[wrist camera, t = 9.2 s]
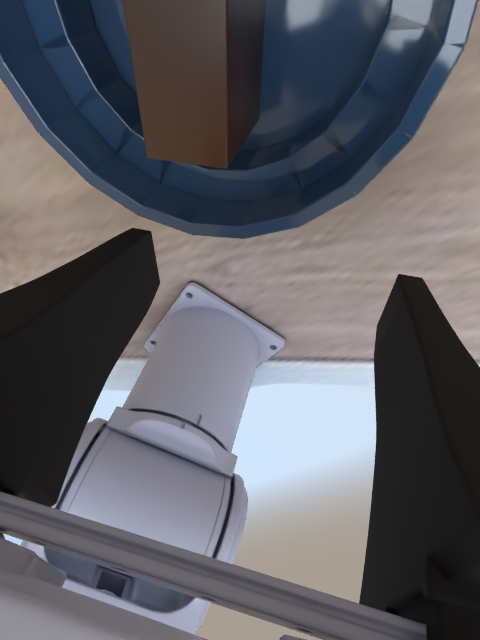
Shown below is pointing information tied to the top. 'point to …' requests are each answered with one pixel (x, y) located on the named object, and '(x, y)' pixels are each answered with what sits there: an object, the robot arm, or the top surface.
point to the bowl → (274, 116)
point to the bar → (196, 76)
